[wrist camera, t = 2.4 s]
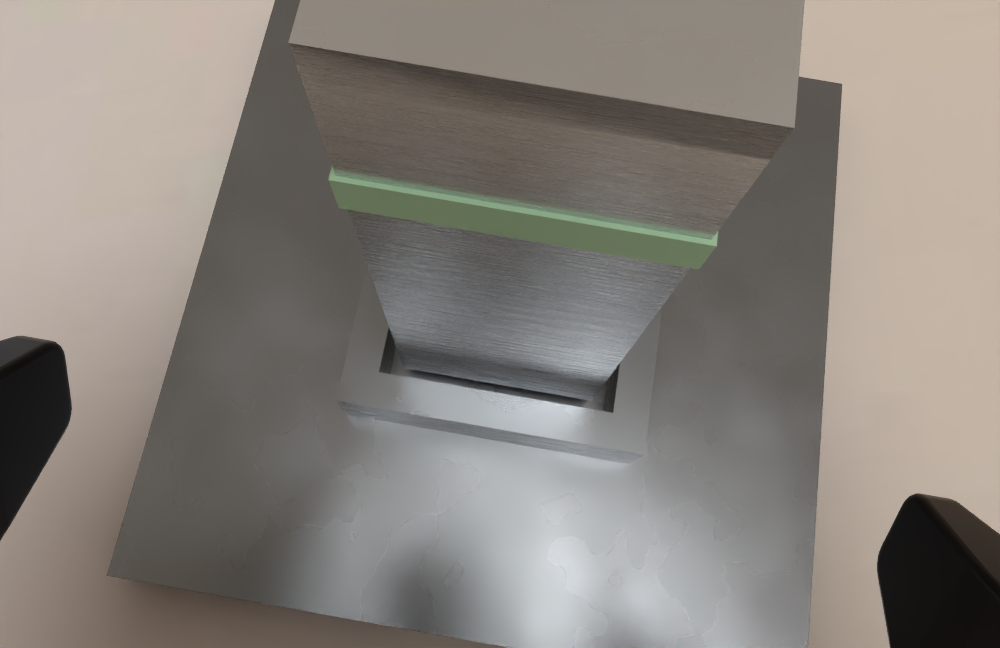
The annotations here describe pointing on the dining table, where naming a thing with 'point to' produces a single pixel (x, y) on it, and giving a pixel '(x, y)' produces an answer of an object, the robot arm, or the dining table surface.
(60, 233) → the dining table surface
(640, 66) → the jack column
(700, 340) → the grey square stand
